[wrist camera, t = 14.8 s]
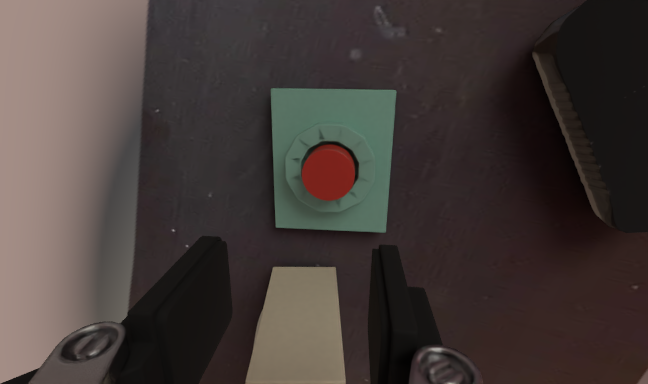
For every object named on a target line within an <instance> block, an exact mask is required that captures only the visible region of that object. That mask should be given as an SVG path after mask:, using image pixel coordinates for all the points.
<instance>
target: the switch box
mask: <svg viewBox="0 0 648 384" xmlns="http://www.w3.org/2000/svg"><path fill="white" fill-rule="evenodd" d="M395 102H396V90H372V89H305V88H272V89H271V113H272V140H273V168H274V196H275V223H276V228H296V229H318V230H339V231H360V232H382V233H385V232H386V221H387V208H388V195H389V182H390V169H391V155H392V142H393V129H394V116H395ZM327 144H332V145H337V146H340V147H342V148H344V149H345V150H346V151H347V152H348V153H349V154H350V155H351V157H352V159H353V161H354V165H355V179H354V183H353V186H352V188H351V189H350V191H349V192H348V193H347V194H346V195H345V196H343V197H341V198H339V199H337V200H332V201H326V200H321V199H318V198H316V197H314V196H313V195H311V194H310V193H309V192H308V191H307V189H306V188H305V186H304V184H303V180H302V169H303V166H304V163H305V162H306V160H307V158H308V156H309V155H310V153H311V152H312V151H313V150H315V149H316V148H318V147H320V146H322V145H327Z"/></svg>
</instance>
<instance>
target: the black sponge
mask: <svg viewBox="0 0 648 384" xmlns="http://www.w3.org/2000/svg"><path fill="white" fill-rule="evenodd" d="M532 55H533V59H534V60H535V62H536V67H537V69H538V72H539V74H540V76H541V79H542V82H543V85H544V88H545V91H546V93H547V95H548V97H549V101H550V103H551V106H552V108H553V110H554V112H555V115H556V118H557V120H558V122H559V125H560V127H561V129H562V134H563V135H564V136H565V139H566V143H567V145H568V147H569V151H570V154H571V156H572V159H573V160H574V162H575V166H576V168H577V170H578V174H579V175H580V178H581V179H580V180H581V182H582V183H583V185H584V187H585V191H586V193H587V196H588V199H589V202H590V204H591V206H592V209H593V211H594V212H595V214H596V215H597V216H598V217H599V218H600V219H602V220H603V221H604V222H605V223H606V224H607V225H608V226H609V227H611V228H615V229H618V230H620V231H623V232H626V233H636V232H648V0H587V1H586V2H584V3H583V4H582V5H580V6H578V7H577V8H575V9H573V10H572V11H570V12H568V13H567V14H565V15H563V16H562V17H560V18H558V19H557V20H555V21H554V22H552V23H551V24H550V25H549V26H548V28H547V29H546V30H545V31H544V33H543V34H542V35H541V36H540V38H539V39H538V40H537V42H536V43H535V46H534V49H533V52H532Z"/></svg>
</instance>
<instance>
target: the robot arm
mask: <svg viewBox="0 0 648 384" xmlns="http://www.w3.org/2000/svg"><path fill="white" fill-rule="evenodd" d="M231 318H232V298H231V287H230V275H229V264H228V252H227V244H226V242H225V241H222V240H221V238H220V237H213V236H202V237H200V238H199V239H198V240H197V241H196V242H195V244H194V245H193V246H192V247H191V248H190V249H189V250H188V251H187V252H186V253H185V254H184V255H183V256H182V257H181V258H180V259H179V260H178V261H177V262H176V263H175V264H174V265H173V266H172V267H171V268H170V269H169V270H168V271H167V272H166V273H165V275H164V276H163V277H162V278H161V279H160V280H159V281H158V282H157V283H156V284H155V285H154V286H153V287H152V288H151V289H150V290H149V291H148V292H147V293H146V294H145V295H144V296H143V297H142V298H141V299H140V300H139V301H138V302H137V303H136V304H135V306H134V307H133V308H132V309H131V310H130V311H129V312H128V316H127V317H126V318H125V319H124V320H123V321H122V322H121V323H116V322H99V323H94V324H91V325H88V326H85V327H82V328H80V329H79V330H76V331H74V332H72V333H71V334H70V335H68V336H67V337H65V338H64V339H63V340H62V341H61V342H60V343H59V344H58V345H57V346H56V347H55V349H54V350H53V351H52V353H51V354H50V355H49V357H48V358H47V359H46V360H45V362H44V363H43V364H42V366H41V367H40V368H38V369H36V370H33V371H31V372H28V373H26V374H24V375H21V376H19V377H16V378H13V379H11V380H9V381H6V382H3V383H1V384H198V383H199V381H200V379H201V377H202V375H203V374H204V372H205V370H206V368H207V366H208V364H209V362H210V360H211V358H212V356H213V354H214V352H215V350H216V348H217V346H218V344H219V342H220V340H221V338H222V336H223V334H224V333H225V331H226V329H227V327H228V325H229V323H230V321H231ZM368 340H369V359H370V378H371V384H483V383H482V377H481V373H480V370H479V369H478V367H477V366H476V364H475V363H474V362H473V361H472V360H471V359H470V358H469V357H468V356H467V355H465V354H463V353H462V352H460V351H458V350H456V349H454V348H451V347H448V346H443V344H442V341H441V338H440V335H439V332H438V329H437V326H436V323H435V320H434V317H433V314H432V311H431V308H430V305H429V301H428V298H427V295H426V292H425V290H424V288H419V287H407V283H406V279H405V275H404V271H403V267H402V263H401V259H400V255H399V251H398V248H397V246H395V245H379V249H373V251H372V265H371V281H370V297H369V313H368Z"/></svg>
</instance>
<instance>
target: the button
mask: <svg viewBox="0 0 648 384" xmlns="http://www.w3.org/2000/svg"><path fill="white" fill-rule="evenodd" d="M354 179H355V165H354V161H353V159H352V157H351V155H350V154H349V153H348V152H347V151H346V150H345V149H344V148H342V147H340V146H337V145H332V144H327V145H322V146H320V147H318V148H316V149H315V150H313V151H312V152H311V153H310V155H309V156H308V158H307V160H306V162H305V163H304V166H303V169H302V180H303V184H304V186H305V188H306V189H307V191H308V192H309V193H310V194H311V195H313V196H314V197H316V198H318V199H321V200H326V201H332V200H337V199H339V198H341V197H343V196H345V195H346V194H347V193H348V192H349V191H350V189H351V188H352V186H353V183H354Z"/></svg>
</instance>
